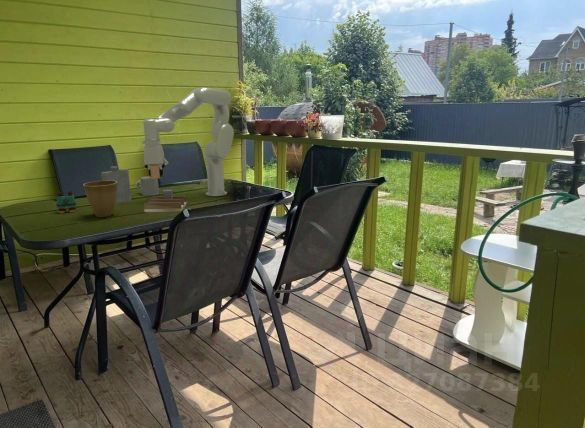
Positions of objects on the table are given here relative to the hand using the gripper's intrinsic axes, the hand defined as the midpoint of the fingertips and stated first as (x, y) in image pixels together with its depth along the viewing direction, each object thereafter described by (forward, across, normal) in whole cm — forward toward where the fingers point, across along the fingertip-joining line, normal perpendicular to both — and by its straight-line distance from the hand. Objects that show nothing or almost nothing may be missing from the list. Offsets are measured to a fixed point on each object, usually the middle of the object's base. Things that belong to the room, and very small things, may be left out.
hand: (156, 176), depth 236 cm
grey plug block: (+13, +7, -10) cm, 18 cm away
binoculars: (+14, -42, -18) cm, 47 cm away
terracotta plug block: (+1, 0, 0) cm, 1 cm away
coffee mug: (+15, -13, +26) cm, 33 cm away
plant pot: (+14, -20, -28) cm, 37 cm away
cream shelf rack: (+14, +7, -14) cm, 22 cm away
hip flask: (+14, -23, +2) cm, 27 cm away
